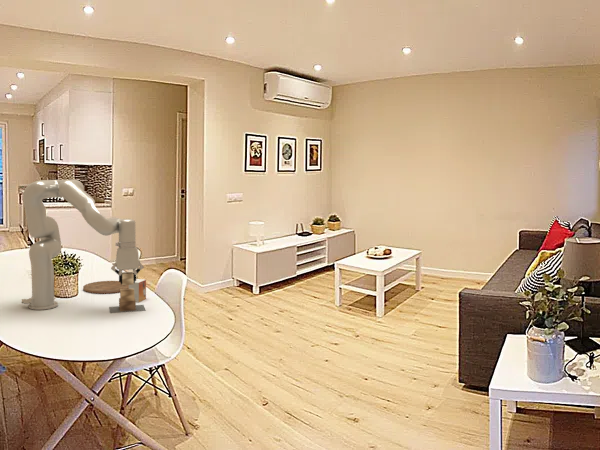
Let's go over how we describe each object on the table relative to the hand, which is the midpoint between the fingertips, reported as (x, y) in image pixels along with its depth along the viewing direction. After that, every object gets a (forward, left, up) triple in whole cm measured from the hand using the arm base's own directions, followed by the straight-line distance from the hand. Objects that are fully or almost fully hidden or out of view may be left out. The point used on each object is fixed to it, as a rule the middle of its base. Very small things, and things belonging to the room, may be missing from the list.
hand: (127, 282), depth 250 cm
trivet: (-7, +45, -14) cm, 48 cm away
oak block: (0, 0, -8) cm, 8 cm away
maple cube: (0, 0, 0) cm, 0 cm away
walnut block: (0, 0, -13) cm, 13 cm away
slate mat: (0, 0, -13) cm, 13 cm away
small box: (+6, +15, -13) cm, 21 cm away
